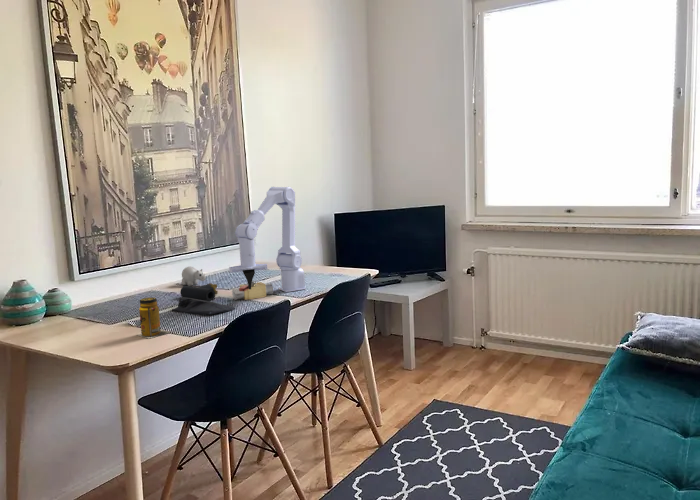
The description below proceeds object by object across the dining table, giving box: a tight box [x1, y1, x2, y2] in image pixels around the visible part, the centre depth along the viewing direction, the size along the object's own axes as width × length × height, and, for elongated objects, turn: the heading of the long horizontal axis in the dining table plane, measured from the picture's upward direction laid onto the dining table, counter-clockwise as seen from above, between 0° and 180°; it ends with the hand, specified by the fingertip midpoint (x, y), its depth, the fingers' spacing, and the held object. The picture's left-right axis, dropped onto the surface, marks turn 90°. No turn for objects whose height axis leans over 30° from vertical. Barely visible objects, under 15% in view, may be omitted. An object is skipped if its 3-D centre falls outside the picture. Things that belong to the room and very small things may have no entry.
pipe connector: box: [179, 282, 219, 302], centre depth 247 cm, size 12×5×15 cm
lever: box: [238, 280, 257, 291], centre depth 239 cm, size 13×3×1 cm, turn 169°
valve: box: [231, 281, 274, 301], centre depth 244 cm, size 16×6×5 cm, turn 120°
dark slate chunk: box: [171, 296, 236, 316], centre depth 226 cm, size 15×22×5 cm
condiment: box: [137, 296, 170, 339], centre depth 195 cm, size 7×8×12 cm
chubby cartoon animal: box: [181, 266, 207, 287], centre depth 271 cm, size 7×12×8 cm, turn 66°
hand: (249, 288), depth 235 cm, fingers closed, pressing on lever
